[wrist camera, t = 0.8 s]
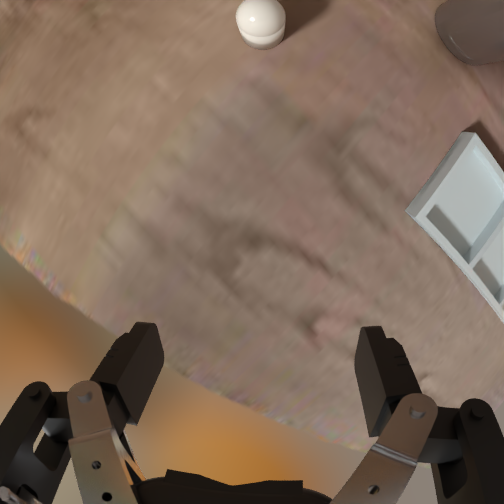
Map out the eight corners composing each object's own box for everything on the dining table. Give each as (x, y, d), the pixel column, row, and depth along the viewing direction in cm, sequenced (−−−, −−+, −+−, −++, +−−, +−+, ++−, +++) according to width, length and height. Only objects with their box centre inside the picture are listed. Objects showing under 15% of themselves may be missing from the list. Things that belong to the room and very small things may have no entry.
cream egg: (257, 8, 25) (252, -20, 18) (292, 27, 26) (296, 3, 19) (232, 36, 27) (222, 14, 20) (268, 57, 27) (266, 38, 21)
